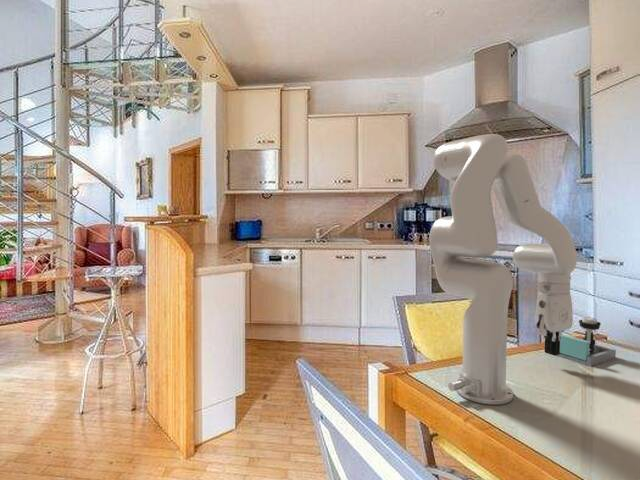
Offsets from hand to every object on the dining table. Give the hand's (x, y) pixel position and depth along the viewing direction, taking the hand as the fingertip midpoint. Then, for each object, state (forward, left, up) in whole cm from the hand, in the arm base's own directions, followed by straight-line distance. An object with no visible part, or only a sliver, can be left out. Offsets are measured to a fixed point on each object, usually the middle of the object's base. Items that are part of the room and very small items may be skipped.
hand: (552, 353), depth 105 cm
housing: (+16, 0, -4) cm, 16 cm away
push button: (+18, 0, -3) cm, 18 cm away
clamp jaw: (+10, 0, -3) cm, 11 cm away
